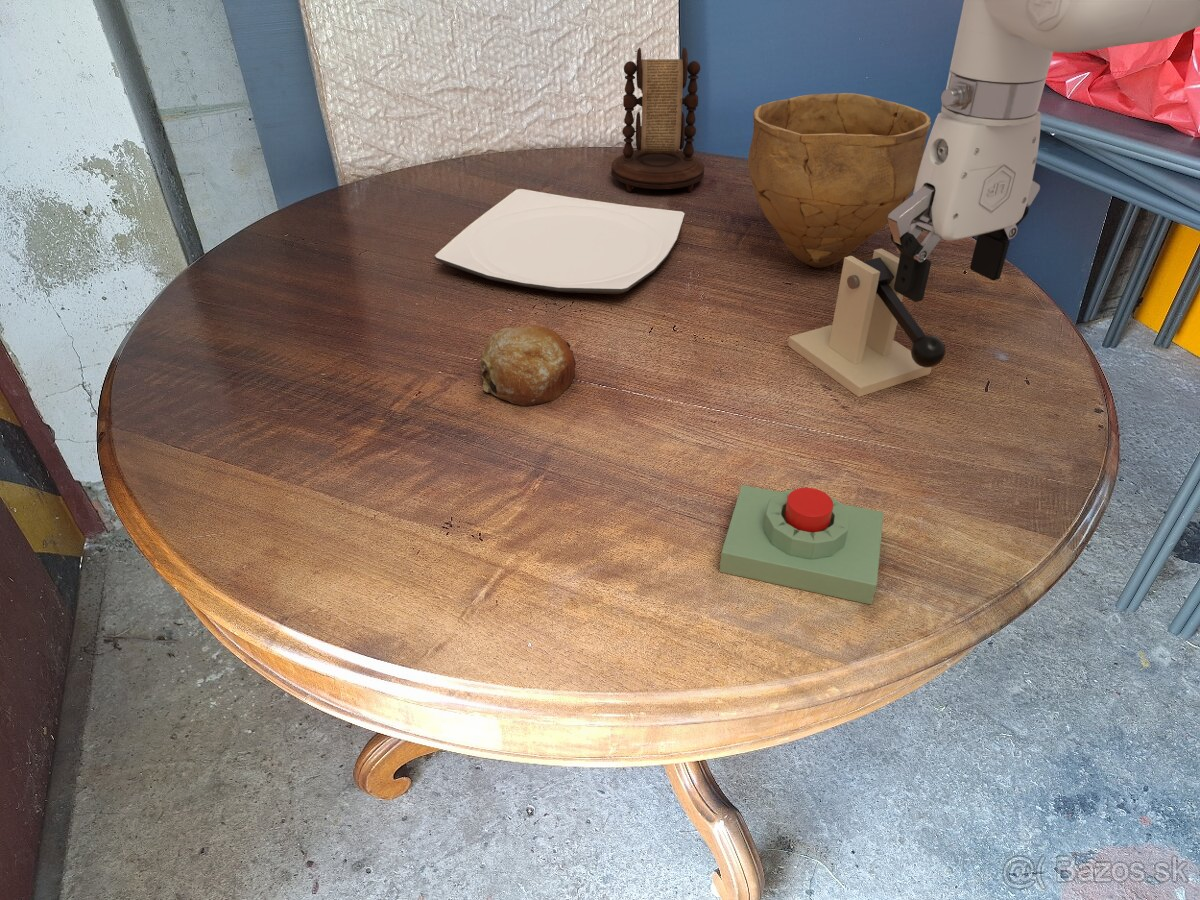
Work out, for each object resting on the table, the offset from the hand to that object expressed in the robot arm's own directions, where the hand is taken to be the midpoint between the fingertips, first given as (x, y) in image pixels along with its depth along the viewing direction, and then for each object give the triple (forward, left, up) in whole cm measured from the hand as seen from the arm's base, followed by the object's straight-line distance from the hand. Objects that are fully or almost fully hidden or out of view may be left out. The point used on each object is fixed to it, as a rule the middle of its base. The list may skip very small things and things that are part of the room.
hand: (946, 285), depth 84 cm
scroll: (+42, -54, -13) cm, 69 cm away
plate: (+47, -24, -13) cm, 54 cm away
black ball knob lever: (+4, -4, -7) cm, 9 cm away
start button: (+9, +26, -10) cm, 29 cm away
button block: (+9, +26, -13) cm, 31 cm away
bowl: (+14, -30, -13) cm, 35 cm away
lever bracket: (+7, -7, -13) cm, 16 cm away
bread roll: (+40, +8, -13) cm, 43 cm away
